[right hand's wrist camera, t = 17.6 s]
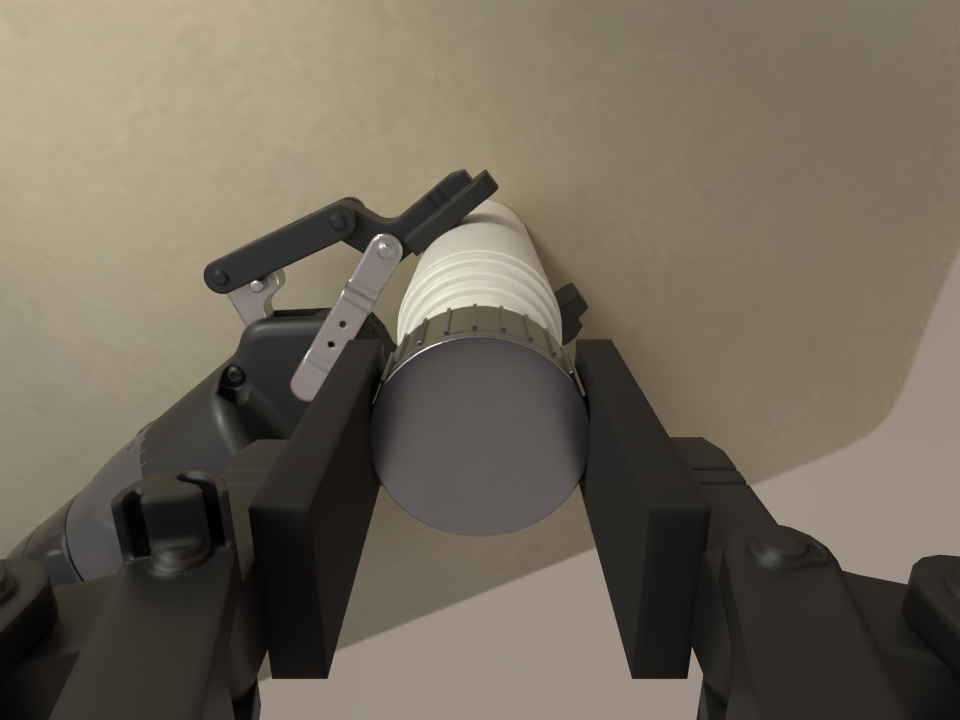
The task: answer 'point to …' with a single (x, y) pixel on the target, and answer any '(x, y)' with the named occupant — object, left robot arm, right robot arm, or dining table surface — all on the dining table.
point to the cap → (479, 422)
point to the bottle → (481, 272)
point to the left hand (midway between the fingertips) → (535, 239)
